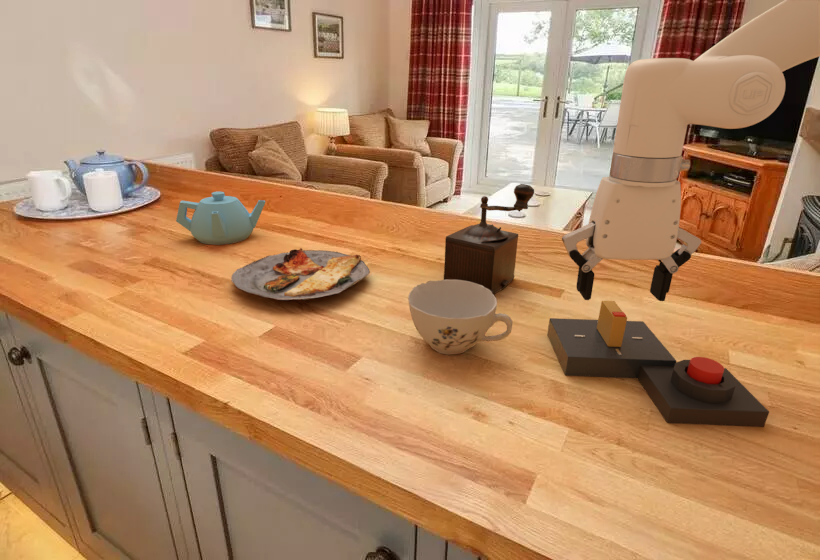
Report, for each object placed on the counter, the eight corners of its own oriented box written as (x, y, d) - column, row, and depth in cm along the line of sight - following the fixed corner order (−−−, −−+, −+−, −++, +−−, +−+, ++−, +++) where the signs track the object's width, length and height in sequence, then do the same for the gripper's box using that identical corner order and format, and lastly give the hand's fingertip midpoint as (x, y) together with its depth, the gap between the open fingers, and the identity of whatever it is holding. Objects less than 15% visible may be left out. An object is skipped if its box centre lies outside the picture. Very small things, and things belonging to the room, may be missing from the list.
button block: (721, 381, 65) (729, 355, 63) (764, 427, 56) (774, 398, 55) (637, 378, 65) (643, 352, 63) (667, 423, 57) (675, 394, 55)
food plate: (294, 252, 108) (293, 236, 106) (388, 270, 99) (388, 254, 97) (207, 294, 87) (204, 275, 86) (316, 322, 78) (315, 302, 77)
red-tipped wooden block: (596, 328, 71) (602, 298, 70) (608, 328, 71) (614, 299, 70) (607, 346, 67) (614, 315, 65) (621, 347, 67) (628, 316, 65)
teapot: (228, 224, 126) (223, 182, 122) (271, 233, 119) (266, 190, 115) (175, 239, 114) (167, 194, 110) (219, 251, 107) (212, 203, 103)
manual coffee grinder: (494, 298, 88) (503, 199, 81) (441, 283, 93) (446, 189, 86) (528, 272, 99) (539, 183, 92) (480, 260, 105) (486, 176, 98)
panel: (639, 338, 75) (643, 320, 74) (671, 380, 65) (677, 359, 64) (547, 335, 75) (549, 317, 74) (564, 376, 65) (568, 355, 64)
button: (710, 369, 61) (714, 357, 60) (726, 386, 58) (730, 373, 57) (681, 368, 61) (684, 356, 60) (695, 385, 58) (699, 372, 57)
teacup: (392, 355, 69) (392, 304, 66) (426, 318, 80) (428, 273, 77) (495, 382, 64) (501, 328, 61) (518, 339, 74) (524, 291, 71)
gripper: (700, 164, 63) (673, 286, 70) (564, 163, 64) (550, 284, 70) (733, 175, 56) (699, 309, 63) (580, 174, 57) (562, 307, 63)
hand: (620, 296), depth 66 cm, fingers open, 9 cm apart
